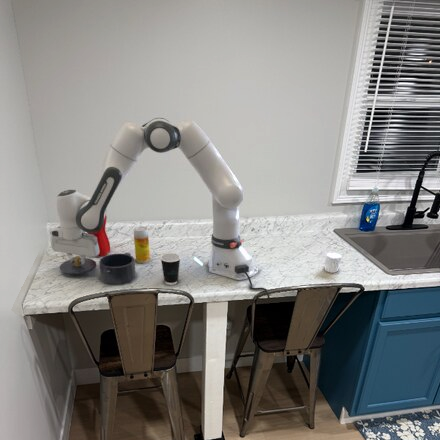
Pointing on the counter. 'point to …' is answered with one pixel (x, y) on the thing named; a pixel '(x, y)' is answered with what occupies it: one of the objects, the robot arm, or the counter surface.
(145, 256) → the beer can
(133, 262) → the pot
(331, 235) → the counter surface
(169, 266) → the dixie cup
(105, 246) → the water bottle
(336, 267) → the white cylinder
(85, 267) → the pot lid
